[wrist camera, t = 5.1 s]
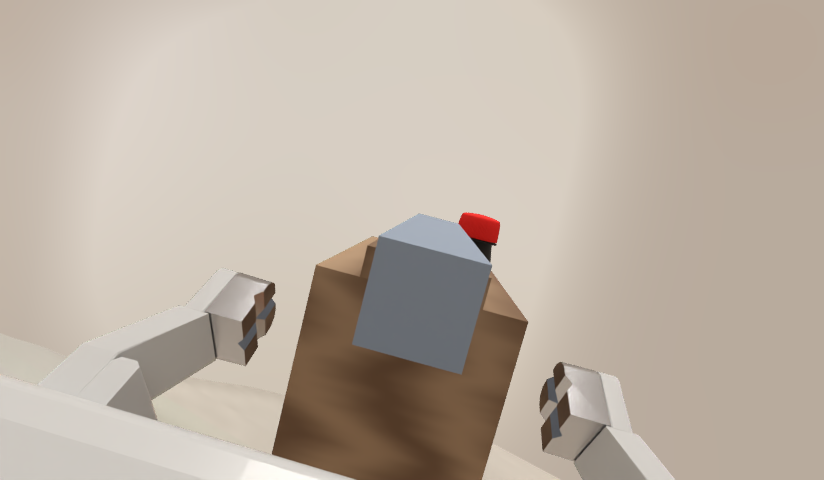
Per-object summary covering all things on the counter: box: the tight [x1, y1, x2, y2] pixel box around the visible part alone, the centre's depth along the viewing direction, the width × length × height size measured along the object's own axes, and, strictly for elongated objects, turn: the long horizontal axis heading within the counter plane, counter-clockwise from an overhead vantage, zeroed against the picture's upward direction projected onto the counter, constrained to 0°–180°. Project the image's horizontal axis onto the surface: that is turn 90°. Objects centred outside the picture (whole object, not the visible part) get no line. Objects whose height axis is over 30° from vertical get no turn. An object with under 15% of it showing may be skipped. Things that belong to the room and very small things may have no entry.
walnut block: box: [272, 236, 528, 480], centre depth 28 cm, size 10×16×28 cm, turn 176°
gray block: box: [352, 214, 492, 375], centre depth 21 cm, size 3×20×3 cm, turn 176°
